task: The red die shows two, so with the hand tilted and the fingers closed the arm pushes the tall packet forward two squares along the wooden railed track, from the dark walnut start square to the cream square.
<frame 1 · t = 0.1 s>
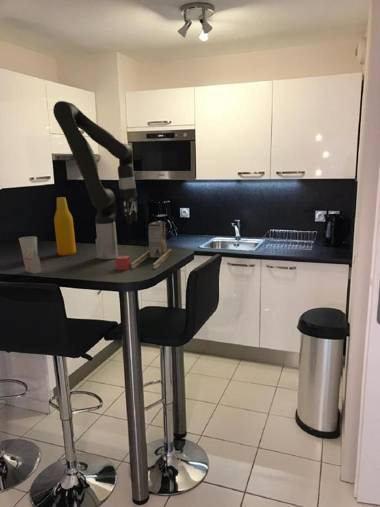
hand: (132, 222, 195), 17 cm above the breakfast bar, tool pointing down, fingers open, 8 cm apart
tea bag: (33, 272, 180), on the breakfast bar
beer bottle: (67, 254, 214), on the breakfast bar
game track: (152, 260, 192), on the breakfast bar
red die: (123, 268, 179), on the breakfast bar
coffee box: (158, 255, 201), on the breakfast bar
cup: (31, 262, 197), on the breakfast bar
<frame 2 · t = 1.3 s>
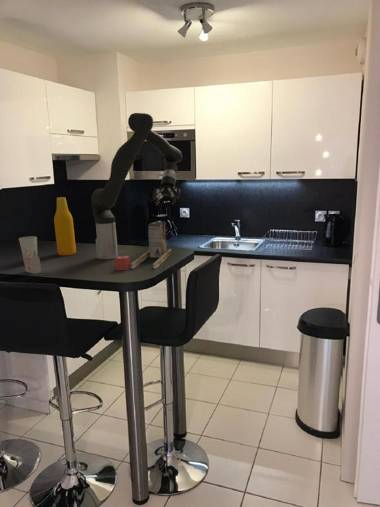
hand: (164, 204, 210), 23 cm above the breakfast bar, tool tilted 45°, fingers open, 8 cm apart
nothing on the breakfast bar moved.
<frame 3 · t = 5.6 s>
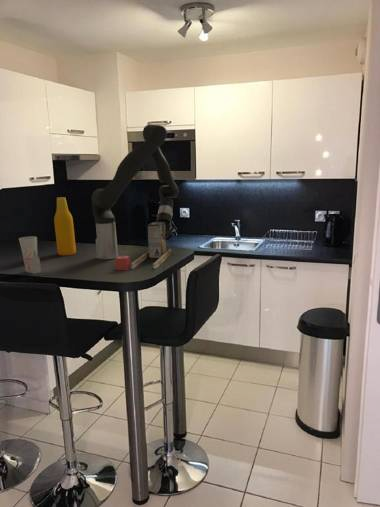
hand: (160, 244, 204), 5 cm above the breakfast bar, tool tilted 45°, fingers closed
coffee box: (158, 256, 200), on the breakfast bar, touching gripper
everything else where it was.
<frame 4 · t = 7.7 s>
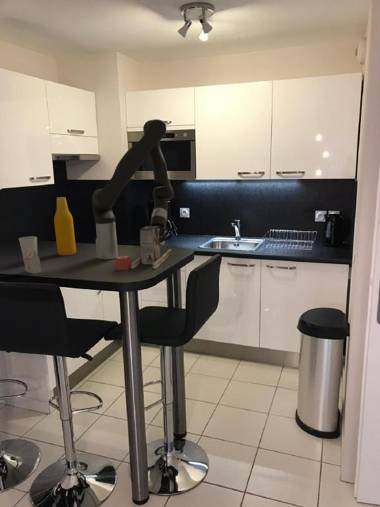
hand: (154, 249, 192), 5 cm above the breakfast bar, tool tilted 45°, fingers closed
coffee box: (151, 262, 189), on the breakfast bar, touching gripper
everything else where it was.
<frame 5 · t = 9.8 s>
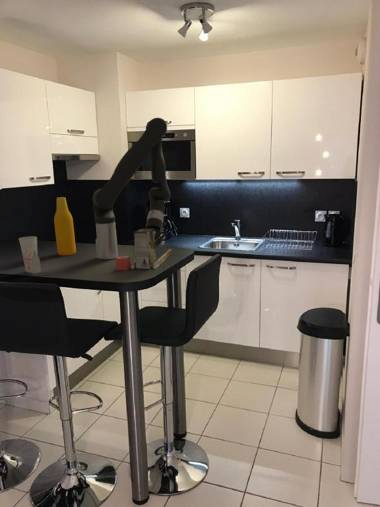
hand: (149, 252, 185), 5 cm above the breakfast bar, tool tilted 45°, fingers closed
coffee box: (146, 266, 182), on the breakfast bar, touching gripper
everything else where it was.
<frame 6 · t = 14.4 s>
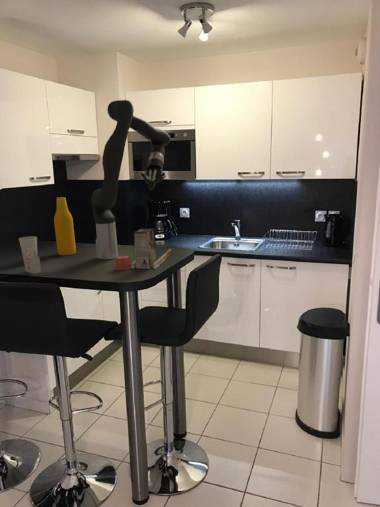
hand: (150, 188, 201), 32 cm above the breakfast bar, tool tilted 45°, fingers closed
coffee box: (146, 266, 182), on the breakfast bar
everything else where it was.
at the end: coffee box inside the target area (0.5 cm from its centre), on the breakfast bar; coffee box tilted 0° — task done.
